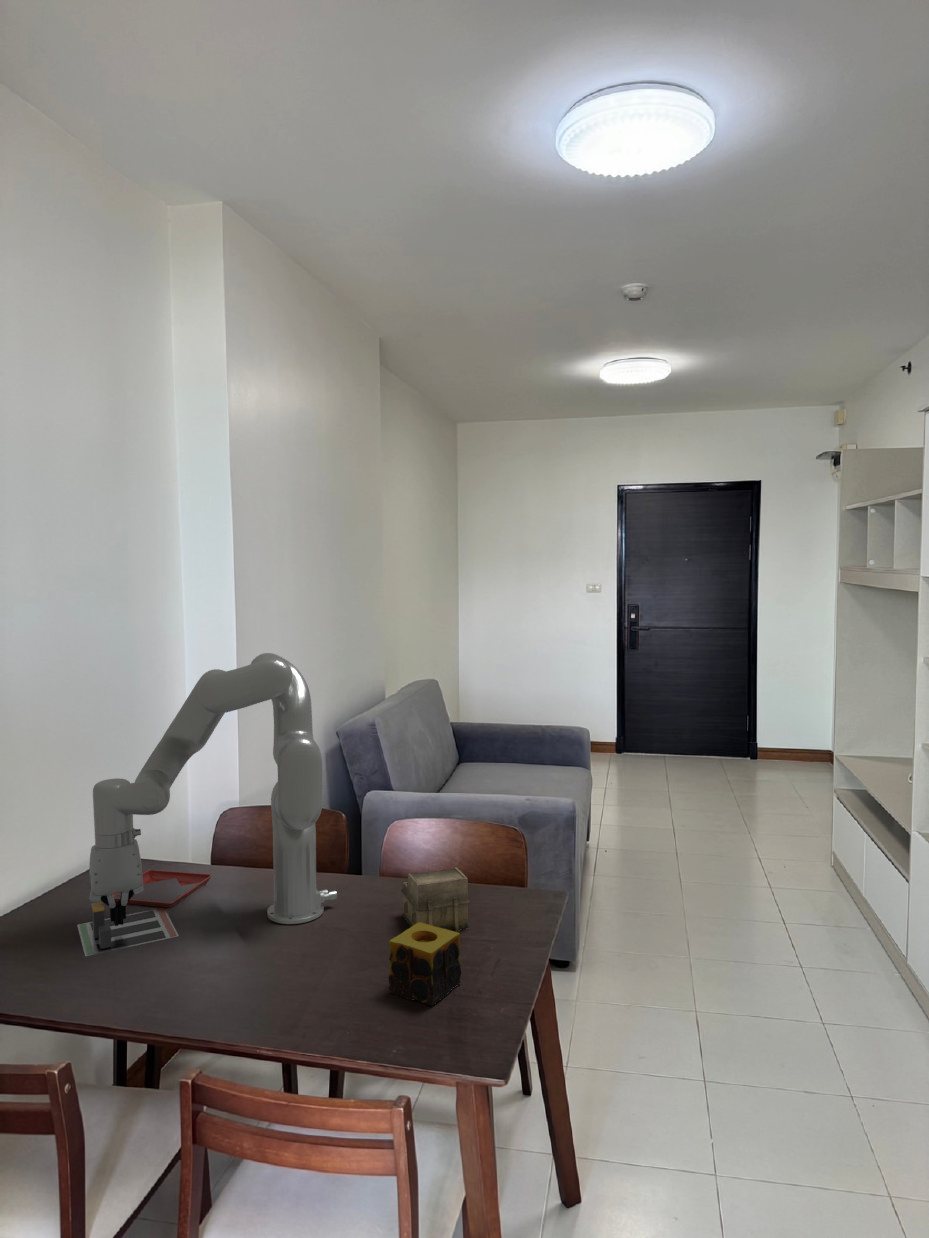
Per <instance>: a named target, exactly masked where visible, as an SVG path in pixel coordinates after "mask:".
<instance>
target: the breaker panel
mask: <svg viewBox="0 0 929 1238" xmlns="http://www.w3.org/2000/svg"><path fill="white" fill-rule="evenodd" d="M104 923H105V925H108V924H109V925H110V928H111V946H112V947H107V948H103V949H101V948H100V944H99V937H97V938H94V935H93V921H89V922H85V923H84V922H83V923H79V924H77V926H76V927H77V930H78V934H79V937H80V942H81V946H82V950H83V953H84V957H90V956H93V955H98V954H104V953H109V952H114V951H117V950H122V949H127V948H130V947H131V948H132V947H135V946H139V945H140V946H141V945H144V944H149V943H153V942H159V941H163V940H169V939H172V938H176V937H179V936H180V935H179V934H178V931H177V929H176V928H175V926H174V924H173V921H172V920H171V918H170V916H169V914H168V913H167V910H166V909H165V907H160V908H154V909H150V910H146V911H145V910H144V911H140V912H134V913H130V914H126V919H123V925H121V924H119V925H118V926H115V923H114V921H112V922H111V919H110V917H108V918H104Z"/></svg>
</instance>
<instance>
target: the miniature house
mask: <svg viewBox="0 0 929 1238" xmlns="http://www.w3.org/2000/svg"><path fill="white" fill-rule="evenodd" d="M468 881H469V880H468V877H467V876H466V875H465V874H464V873H463V872H462V870H460V869H459V868H458V867H457V866H456V867H453V868H451V869H442V870H437V871H428V872H421V873H414V874H412V873H407V881H404V882H402V883H403V885H402V888H401V889H400V892H401V893H402V894H403V896H402V898H403V900H402V901H403V902H402V903H403V904H402V905H403V907H402V908H403V913H402V918H403V917H404V918H405V919H404V918H403V919H404V921H405V920H406V921H407V922H406V921H405V922H406V924H407V925H408V924H409V925H410V926H409V925H408V926H409V928H411V927H412V926H413V925H415V924H416V923H419V922H421V923H424V924H428V925H432V926H435V927H439V928H443V929H447V930H451V931H454V932H458V933H460V932H461V931H459V930H460V929H466V928H468V927H469V912H468V909H469V908H468V907H469V904H471V903H472V902H471V901H470V900H469V897H468V896H469V895H468V891H469V890H468V888H469V885H468V883H469V882H468ZM469 928H470V927H469ZM460 934H461V933H460Z"/></svg>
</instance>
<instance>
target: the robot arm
mask: <svg viewBox="0 0 929 1238" xmlns="http://www.w3.org/2000/svg"><path fill="white" fill-rule="evenodd" d="M270 700H271V703H272V706H273V707H272V709H273V711H272V712H273V714H272V716H273V744H272V745H273V747H272V756H273V760H274V762H275V764H276V765H277V782H276V783H275V785H273V788H272V792H271V797H270V809H271V820H272V821H271V822H272V856H273V861H272V862H273V904H271V905H270V906H269V907H268V908H267V912H266V913H267V914H266V915H267V918H268V919H269V920H270V921H272V922H273V923H278V924H281V925H296V924H298V925H299V924H305V923H308V922H311V921H314V920H316V919H318V918H319V917H321V916H322V915H323V913H324V910H325V909H324V907H325V906H324V903H325V902H326V901H333V900H337V898H338V893H337V891H336V890H330V891H328V888H325V889H321V890H318V889H317V851H316V850H317V831H316V829H317V828H316V822H317V821H318V820H319V818H320V816H321V813H322V808H323V759H322V752H321V749H320V747H319V745H318V744H317V742H316V741H315V740H314V733H313V708H312V699H311V693H310V689H309V686H308V683H307V681H306V679H305V678H304V676H303V675H302V673H301V671H299V668H297V667H296V665H294V664H293V663H291V661H289V660H287V659H285V658H283V657H282V656H280V655H278V654H276V653H271V652H263V653H261V654H258V655H257V656H255V657H254V659H252V661H251V663H250V664H248V665H245V666H241V667H238V668H235V669H231V670H227V671H226V670H223V669H219V668H217V669H216V668H214V669H210V670H208V671H206V672H205V673H203V674H202V675H201V676H200V677H199V679H198V681H197V682H196V684H195V685H194V687H193V689H192V690H191V692H190V693H189V695H188V697H187V698H186V700H184V701H185V702H184V703H183V704H182V706H181V707H180V709H179V710H178V712H177V713H176V715H175V717H174V718H173V720H172V721H171V723H170V724H169V726H168V728H167V729H166V731H164V734H163V736H162V737H161V739H160V740H159V742H158V743H157V745H156V746H155V748H154V750H153V751H152V752H151V754H150V756H148V758H147V759H146V762H145V763H144V765H143V766H142V768H141V769H140V772H139V773H138V775H137V776H136V778H135V780H134V782H130V781H129V780H127V779H126V778H117V777H116V778H107V779H104V780H100V781H97V782H96V783H95V784H94V786H93V787H92V788H93V789H92V800H93V801H92V804H93V805H92V808H93V825H94V826H93V827H94V845H93V846H91V849H90V853H89V854H90V855H89V870H88V871H89V874H88V875H89V876H88V877H89V879H88V880H89V888H90V893H89V901H90V902H91V903H92V902H93V903H97V902H103V904H104V905H107V906H108V907H109V916H110V917H109V918H110V919H111V922H112V921H114V923H115V926H118V925H119V924H121V925H123V919H126V915H127V909H126V908H127V904H128V903H127V902H128V901H129V900H130V899H133V898H132V897H134V895H137V894H139V893H142V892H144V891H145V887H144V884H143V875H142V874H143V867H142V858H141V853H140V849H139V848H140V846H139V843H138V840H137V839H136V837H138V836H141V835H142V830H141V828H138V829H137V828H135V827H134V815H137V816H139V815H140V816H153V815H156V814H158V813H162V812H163V811H164V810H165V809H166V808H167V807H168V805H169V803H170V799H171V790H170V789H171V788H172V785H173V784H174V782H175V781H176V779H177V778H178V776H179V774H180V773H181V771H182V769H183V768H184V767H185V765H186V764H187V763H188V761H189V760H190V759H191V758H192V757H193V756H194V755H195V754H197V753H198V752H200V751H201V749H203V748H204V747H205V745H206V744H207V742H208V741H209V739H210V738H211V736H212V735H213V733H214V731H215V730H216V728H217V726H218V724H219V723H220V721H221V720H222V718H223V717H224V715H225V713H231V712H233V711H237V710H240V709H245V708H248V707H251V706H253V705H258V704H260V703H264V702H267V701H270ZM115 893H120V894H119V898H120V900H119V901H118V902H116V901H115V900H114V898H115V897H114V896H113V894H115Z"/></svg>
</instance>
